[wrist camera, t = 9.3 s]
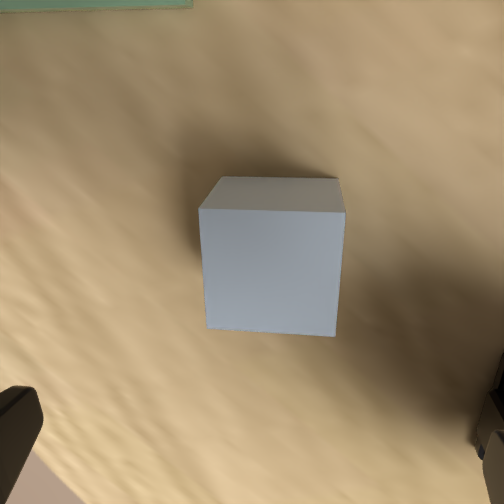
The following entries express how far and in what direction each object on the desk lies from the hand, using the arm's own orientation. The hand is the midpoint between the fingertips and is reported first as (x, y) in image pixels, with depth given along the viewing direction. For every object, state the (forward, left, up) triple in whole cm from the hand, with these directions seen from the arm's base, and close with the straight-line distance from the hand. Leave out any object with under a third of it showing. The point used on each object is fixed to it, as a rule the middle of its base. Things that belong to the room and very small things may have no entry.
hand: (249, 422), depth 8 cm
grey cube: (0, 0, -10) cm, 10 cm away
